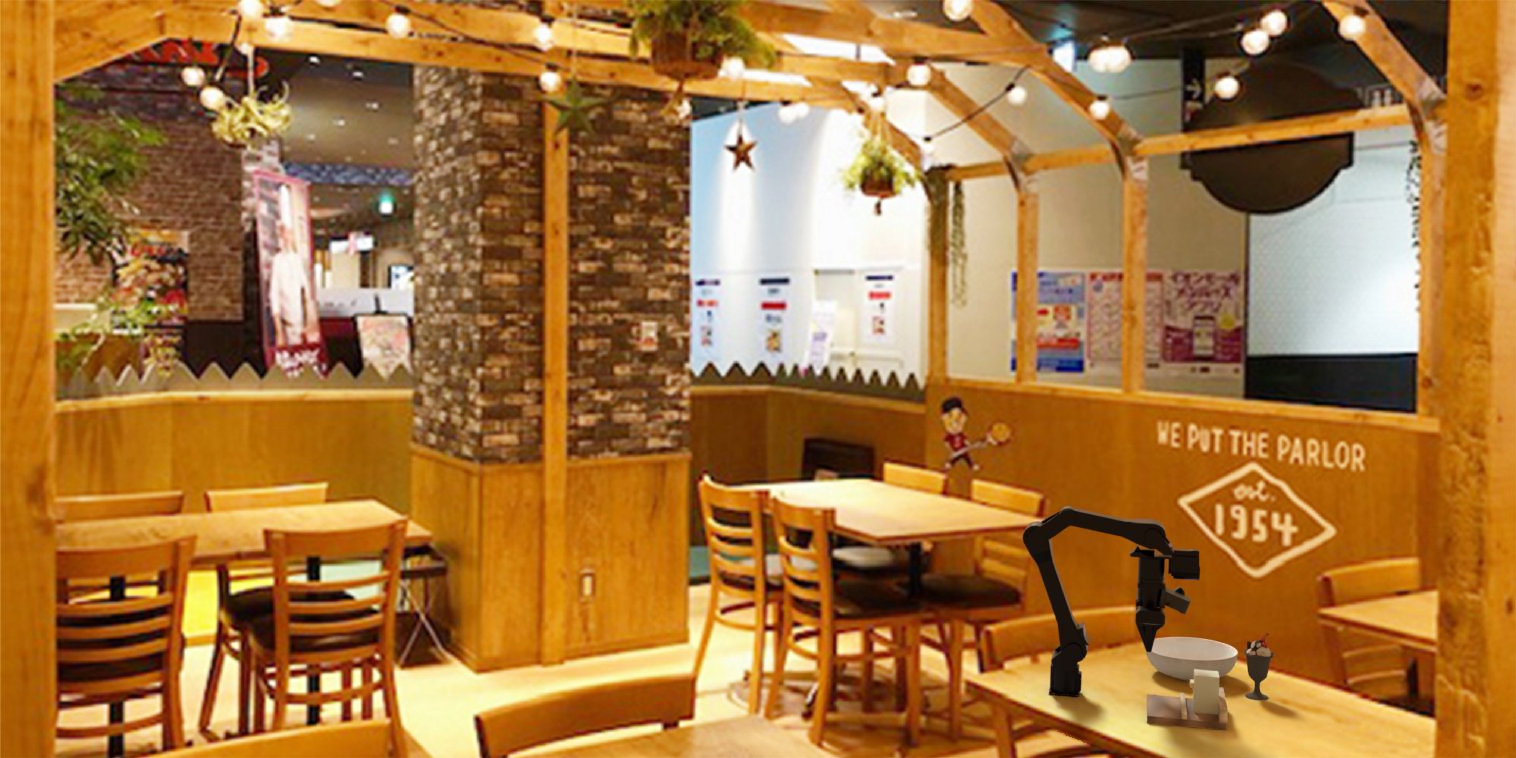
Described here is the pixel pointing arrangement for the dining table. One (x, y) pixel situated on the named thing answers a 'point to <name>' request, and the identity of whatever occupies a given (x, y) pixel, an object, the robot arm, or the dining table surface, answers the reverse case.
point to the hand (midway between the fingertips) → (1148, 646)
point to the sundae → (1258, 665)
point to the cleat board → (1185, 712)
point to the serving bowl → (1191, 656)
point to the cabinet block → (1205, 691)
